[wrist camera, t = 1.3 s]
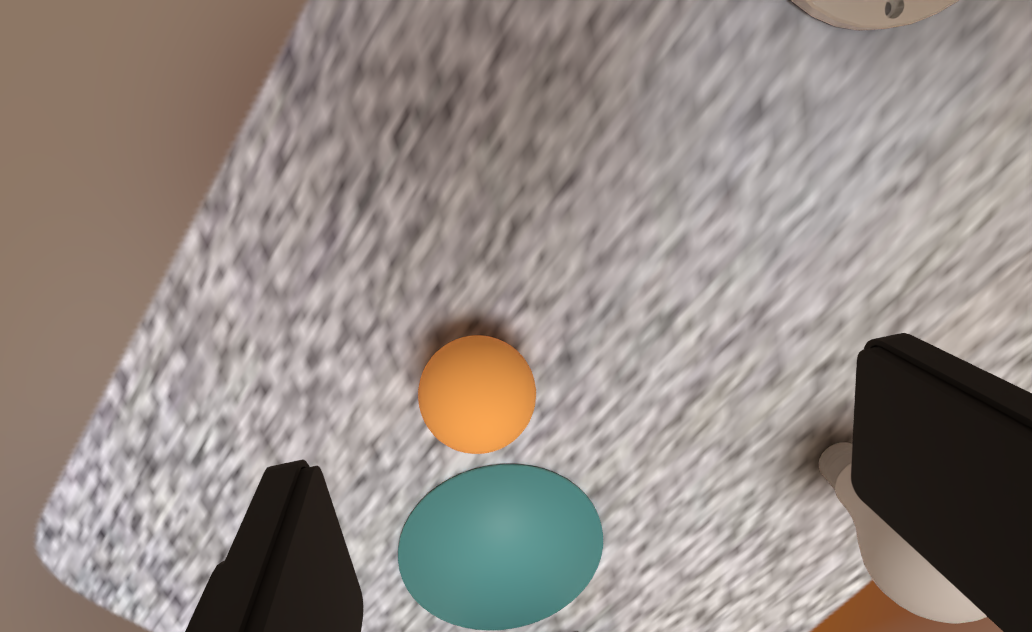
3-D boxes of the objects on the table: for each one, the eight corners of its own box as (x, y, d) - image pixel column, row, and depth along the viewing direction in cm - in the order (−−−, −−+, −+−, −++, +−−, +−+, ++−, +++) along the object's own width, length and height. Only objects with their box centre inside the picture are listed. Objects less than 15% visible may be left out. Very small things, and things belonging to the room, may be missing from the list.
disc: (379, 483, 32) (379, 485, 32) (596, 448, 33) (596, 450, 33) (417, 642, 37) (417, 645, 36) (607, 608, 37) (608, 610, 37)
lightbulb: (790, 509, 36) (926, 673, 26) (773, 429, 34) (915, 575, 24) (884, 474, 36) (1058, 626, 26) (874, 392, 34) (1060, 523, 24)
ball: (411, 326, 29) (405, 377, 24) (521, 310, 30) (538, 356, 25) (429, 422, 31) (427, 487, 26) (532, 406, 32) (550, 467, 27)
